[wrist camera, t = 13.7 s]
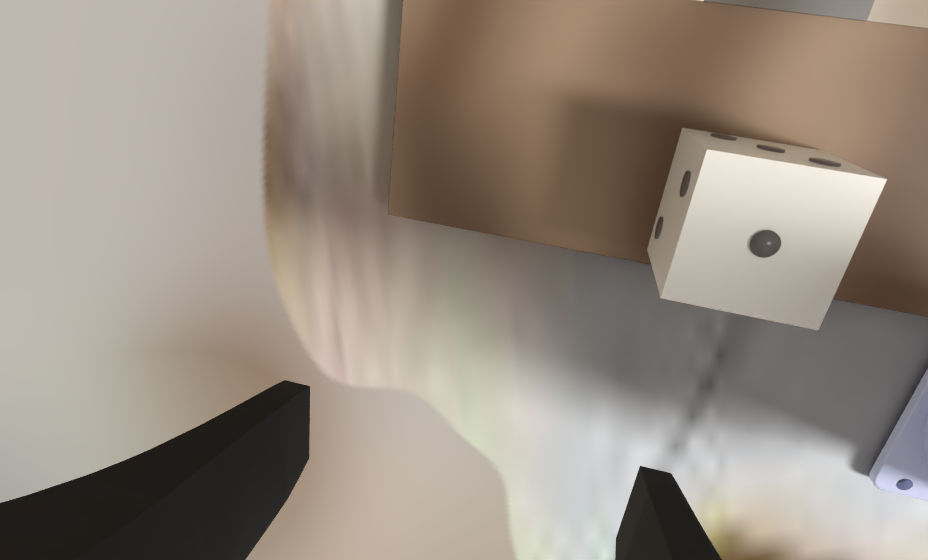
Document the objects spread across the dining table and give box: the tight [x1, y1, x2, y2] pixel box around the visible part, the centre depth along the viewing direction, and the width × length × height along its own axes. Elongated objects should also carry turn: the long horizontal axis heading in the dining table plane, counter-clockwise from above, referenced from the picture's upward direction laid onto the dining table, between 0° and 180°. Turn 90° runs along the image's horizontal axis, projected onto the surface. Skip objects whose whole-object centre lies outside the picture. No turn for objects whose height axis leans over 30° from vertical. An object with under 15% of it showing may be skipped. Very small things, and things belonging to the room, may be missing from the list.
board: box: [388, 0, 928, 317], centre depth 15 cm, size 20×16×1 cm
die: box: [647, 128, 887, 330], centre depth 15 cm, size 4×4×4 cm
